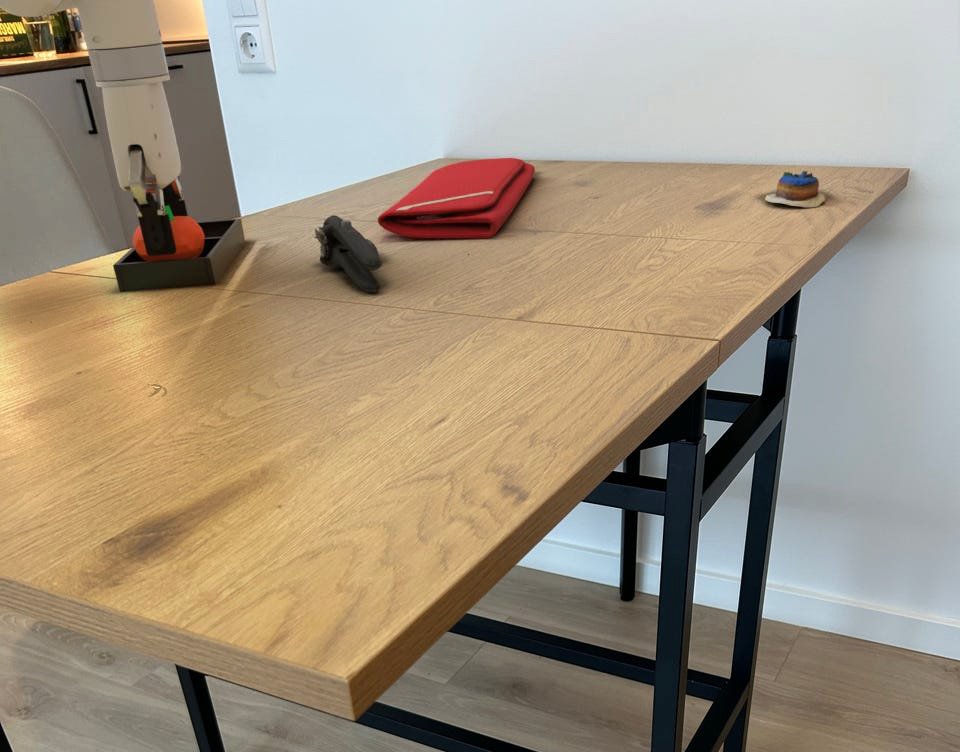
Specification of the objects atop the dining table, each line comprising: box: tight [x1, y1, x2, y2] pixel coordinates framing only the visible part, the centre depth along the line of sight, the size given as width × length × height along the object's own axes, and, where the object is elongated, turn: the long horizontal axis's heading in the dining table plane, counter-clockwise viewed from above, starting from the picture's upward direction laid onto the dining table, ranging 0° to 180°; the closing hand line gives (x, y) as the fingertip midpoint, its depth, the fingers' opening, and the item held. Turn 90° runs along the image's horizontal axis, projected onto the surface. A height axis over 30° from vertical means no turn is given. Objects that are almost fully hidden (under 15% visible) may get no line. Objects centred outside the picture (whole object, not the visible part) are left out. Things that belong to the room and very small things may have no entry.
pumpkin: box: [132, 205, 205, 261], centre depth 113 cm, size 7×8×6 cm
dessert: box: [764, 170, 826, 208], centre depth 129 cm, size 8×7×6 cm
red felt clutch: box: [377, 157, 536, 239], centre depth 140 cm, size 16×41×4 cm, turn 171°
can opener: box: [314, 214, 383, 293], centre depth 111 cm, size 18×7×6 cm, turn 17°
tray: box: [112, 218, 246, 293], centre depth 119 cm, size 11×21×4 cm, turn 2°
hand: (170, 244), depth 113 cm, fingers closed on pumpkin, 7 cm apart
